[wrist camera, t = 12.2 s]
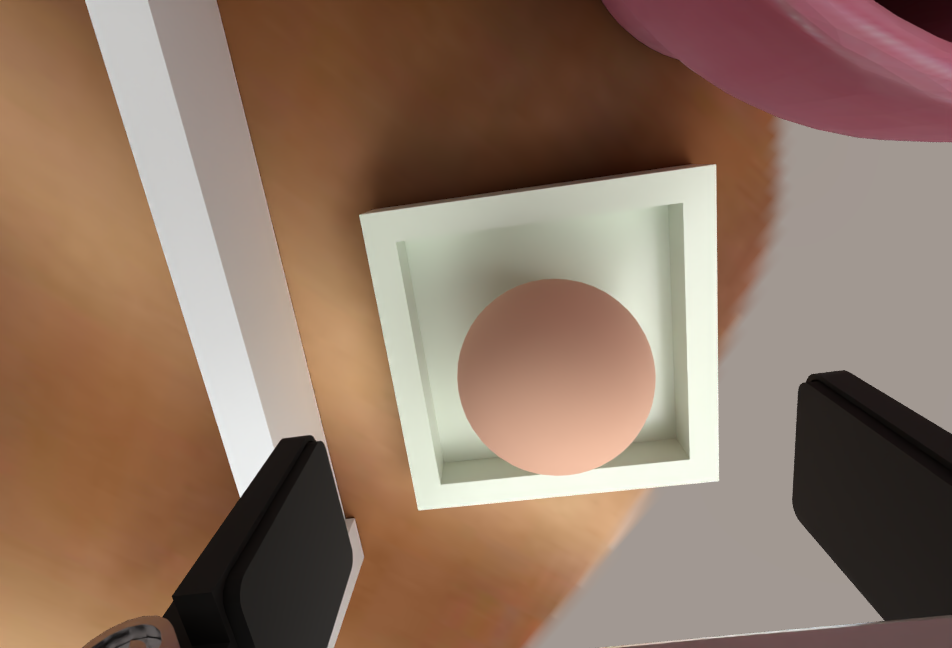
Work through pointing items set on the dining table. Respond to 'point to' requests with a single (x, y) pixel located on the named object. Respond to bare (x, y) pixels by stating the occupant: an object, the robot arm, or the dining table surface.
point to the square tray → (552, 257)
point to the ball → (556, 377)
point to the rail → (214, 226)
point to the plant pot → (815, 58)
